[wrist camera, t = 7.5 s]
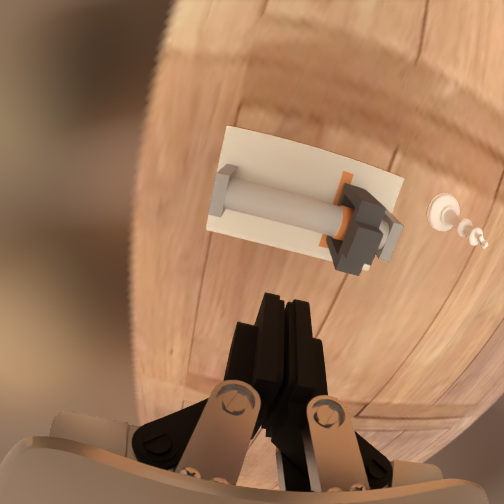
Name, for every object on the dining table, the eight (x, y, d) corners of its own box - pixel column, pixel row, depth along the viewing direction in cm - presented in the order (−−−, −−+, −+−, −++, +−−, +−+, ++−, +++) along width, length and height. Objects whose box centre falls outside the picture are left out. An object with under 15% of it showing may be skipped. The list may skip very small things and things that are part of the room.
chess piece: (437, 237, 32) (476, 276, 23) (420, 208, 31) (462, 242, 22) (462, 214, 30) (506, 246, 21) (447, 185, 29) (494, 211, 20)
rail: (207, 226, 34) (192, 250, 28) (228, 125, 29) (215, 126, 23) (366, 267, 35) (380, 296, 29) (400, 176, 29) (426, 191, 23)
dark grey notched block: (325, 240, 32) (338, 277, 24) (345, 182, 29) (366, 204, 21) (345, 245, 32) (362, 283, 24) (365, 189, 29) (391, 213, 22)
